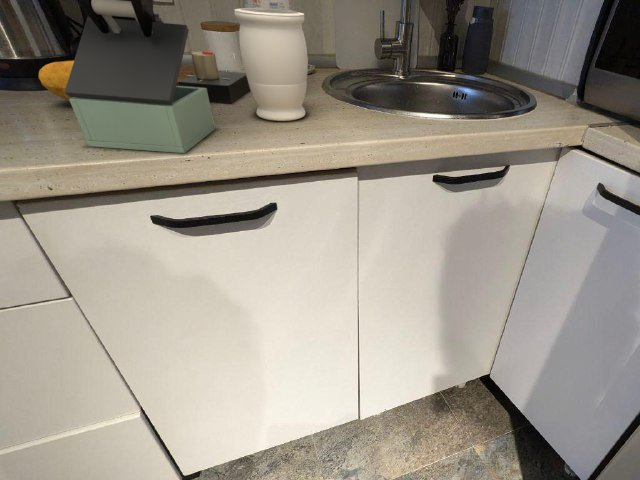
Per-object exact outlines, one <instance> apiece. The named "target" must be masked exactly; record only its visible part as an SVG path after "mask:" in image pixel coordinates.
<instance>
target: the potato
mask: <svg viewBox="0 0 640 480" xmlns="http://www.w3.org/2000/svg"><path fill="white" fill-rule="evenodd" d="M73 63H74V60H64V61H54V62H50V63H47V64H45V65H44V66H42V68H40V69H39V71H38V79H39V81H40V83H41V85H42V86H43V87H44V88H45V89H47V90H48V91H49V92H50V93H51V94H52V95H55V96H57V97H59V98H61V99H64V100H66V101H69V99H70V98H73V97H69V96H68V95H67V94H66V93H65V89H66V86H67V83H68V79H69V76H70V73H71V70H72V66H73Z"/></svg>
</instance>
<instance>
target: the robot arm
mask: <svg viewBox="0 0 640 480" xmlns="http://www.w3.org/2000/svg"><path fill="white" fill-rule="evenodd" d="M75 1H76V2H77V4H78V5H79V6H80V8H82V10H83V11H84V13H86V15H87V17H90V18H91V20H92V21H93V22H94V23H95V25H96V26H97V27H98V28H99V30H100V31H101V32H102V33H105V34H106V33H109V32H110V31H109V27H108V23H107V22H106V21H105V19H104V18H103V17H102V15H98V14H96V13H95V12H94V10H93V8H92V5H91V0H75ZM121 1H131V3H132V6H133V9H134V12H135V14H136V17H137V20H138V23H139V25H140V27H141V29H142V32H143V34H144V36H145V37H151V36H152V22H158V23H165V22H164V21H163V20H162V18H161V17H160V14H159V13H155V11H154V0H121ZM112 18H113V19H122V20H134V21H136V19H135V18H132V17H121V16H112ZM176 86H178V84H177V85H176Z"/></svg>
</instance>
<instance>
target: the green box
mask: <svg viewBox="0 0 640 480" xmlns="http://www.w3.org/2000/svg"><path fill="white" fill-rule="evenodd" d="M68 101H69V103H70V105H71V108H72V110H73V112H74V115H75V118H76V119H77V122H78V124H79V126H80V129H81V131H82V134H83V136H84V139H85V140H86V141H85V142H86V143H87V145H88V147H93V148H107V149H109V148H110V149H120V150H121V149H122V150H133V151H134V150H136V151H147V152H161V153H175V154H176V153H177V154H186V153H187V152H188V151H189V150H191V149H192V148H193V147H195V146H196V145H197V144H198V143H200V142H201V141H202V140H204V139H205V138H206V137H208V136H209V135H210V134H211V133H213V132H214V131H215V130H216V126H215V122H214V116H213V112H212V107H211V102H209V97H208V93H207V88H200V87H187V86H179V85H177V86H176V90H175V94H174V99H173V103H172V105H168V104H155V103H142V102H129V101H116V100H104V99H91V98H78V97H73V98H70V99H69V100H68Z"/></svg>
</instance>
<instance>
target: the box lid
mask: <svg viewBox="0 0 640 480" xmlns="http://www.w3.org/2000/svg"><path fill="white" fill-rule="evenodd" d="M91 5H92V8H93V10H94V12H95V13H96V14H98V15H102V17H103V18H104V19H105V21H106V22H107V23H108V27H109V31H110V32H109V33H106V34H105V33H102V32H101V31H100V30H99V28H98V27H97V26H96V25H95V23H94V22H93V21H92V20H91V18H90V17H89V16H87V18H86V21H85V23H84V27H83V31H82V34H81V37H80V39H79V43H78V47H77V50H76V54H75V57H74V60H73V61H74V63H73V66H72V70H71V73H70V76H69V79H68V83H67V86H66V89H65V93H66V94H67V95H68V96H69V97H78V98H91V99H104V100H116V101H129V102H142V103H155V104H168V105H172V103H173V99H174V94H175V90H176V85H177V86H178V82H179V77H180V76H179V75H180V71H181V68H182V62H183V59H184V54H185V49H186V45H187V40H188V37H189V36H188V35H189V31H190V30H189V27H188V26H187V24H181V23H180V24H179V23H168V22H164V23H158V22H152V36H151V37H145V36H144V34H143V32H142V29H141V27H140V25H139V23H138V20H137V17H136V14H135V12H134V9H133V6H132V3H131V1H121V0H91ZM112 16H121V17H132V18H135V19H136V21H134V20H122V19H113V18H112Z"/></svg>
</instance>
